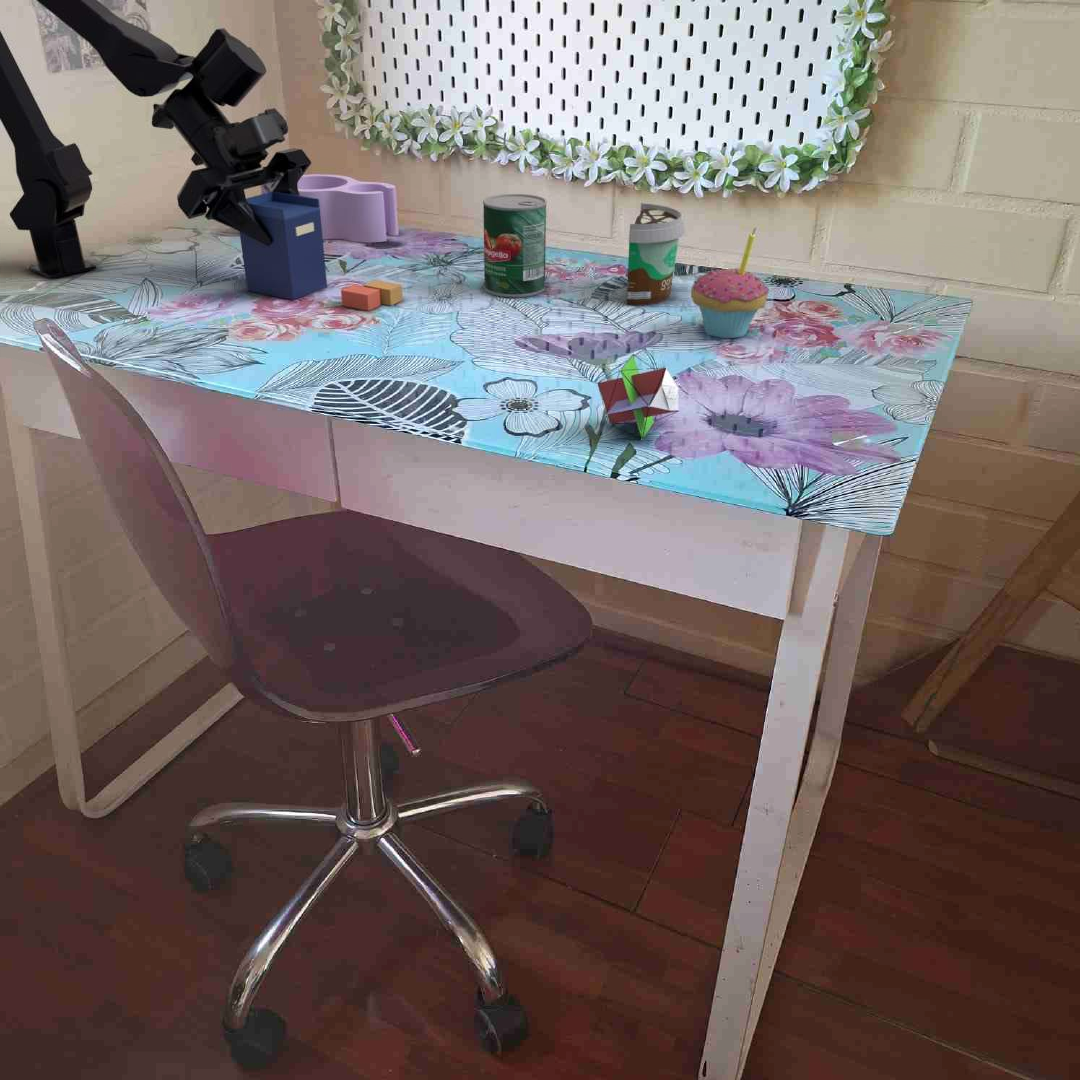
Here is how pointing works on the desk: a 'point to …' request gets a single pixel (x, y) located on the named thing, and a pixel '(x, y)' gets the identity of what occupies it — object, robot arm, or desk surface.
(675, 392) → the geometric puzzle
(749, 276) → the cupcake
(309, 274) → the blue storage box
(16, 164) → the robot arm
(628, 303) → the food container
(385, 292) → the snack bar tan
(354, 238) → the clip
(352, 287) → the block
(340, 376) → the desk surface
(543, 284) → the canned tomato
